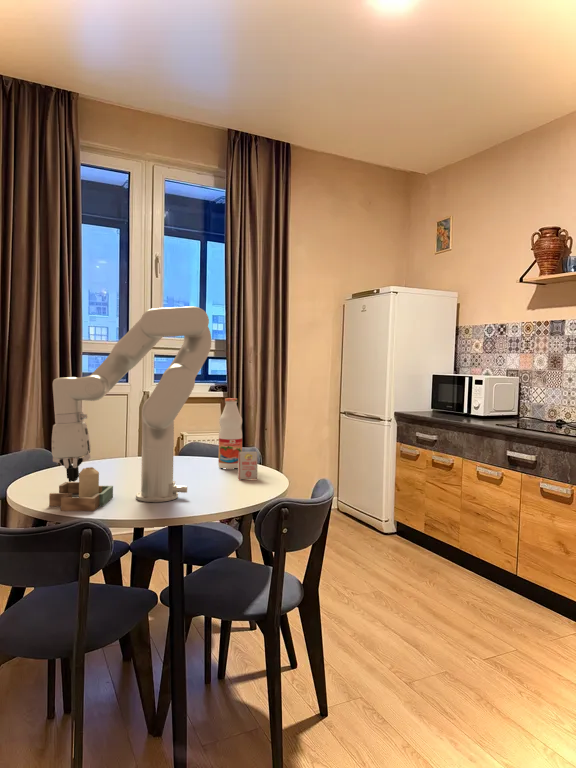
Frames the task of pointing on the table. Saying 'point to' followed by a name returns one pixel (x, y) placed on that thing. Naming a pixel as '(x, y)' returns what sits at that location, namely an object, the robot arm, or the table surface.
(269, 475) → the table surface
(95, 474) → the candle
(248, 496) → the table surface
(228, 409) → the fruit juice
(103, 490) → the wooden tray
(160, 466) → the robot arm
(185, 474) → the table surface
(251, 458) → the white red box
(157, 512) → the table surface
